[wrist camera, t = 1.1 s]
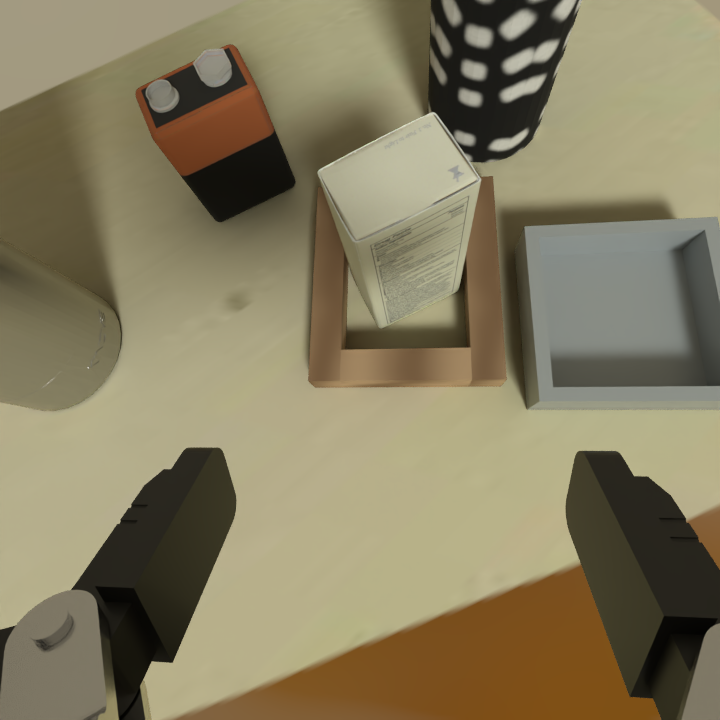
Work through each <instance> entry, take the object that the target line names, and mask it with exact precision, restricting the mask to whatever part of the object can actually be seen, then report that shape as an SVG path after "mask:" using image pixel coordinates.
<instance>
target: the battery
mask: <svg viewBox="0 0 720 720" xmlns="http://www.w3.org/2000/svg"><path fill="white" fill-rule="evenodd" d="M136 98H137V101H138V103H139V106H140V108H141V111H142V113H143V116H144V118H145V121H146V123H147V126H148V128H149V131H150V133H151V136H152V138H153V140H154V141H155V143H156V144H157V145H158V147H159V148H160V149H161V151H162V152H163V153H164V154H165V156H166V157H167V158H168V160H169V161H170V162H171V164H172V165H173V166H174V167H175V169H176V170H177V171H178V173H179V174H180V175H181V177H182V178H183V179H184V180H185V182H186V183H187V184H188V186H189V187H190V188H191V190H192V191H193V192H194V193H195V195H196V196H197V197H198V199H199V200H200V201H201V202H202V204H203V205H204V206H205V208H206V209H207V210H208V212H209V213H210V214H211V215H212V217H213V218H214V219H215V220H216V221H218V222H222V221H224V220H227V219H229V218H231V217H233V216H235V215H237V214H239V213H241V212H243V211H245V210H247V209H249V208H251V207H253V206H256V205H258V204H260V203H262V202H264V201H266V200H268V199H270V198H272V197H274V196H276V195H278V194H280V193H282V192H284V191H286V190H288V189H290V188H292V187H293V186H294V185H295V179H294V176H293V174H292V171H291V169H290V166H289V164H288V161H287V159H286V156H285V154H284V151H283V149H282V146H281V144H280V142H279V139H278V137H277V134H276V132H275V129H274V127H273V124H272V122H271V119H270V117H269V114H268V112H267V109H266V107H265V105H264V102H263V100H262V97H261V95H260V92H259V90H258V88H257V86H256V84H255V82H254V80H253V78H252V76H251V74H250V72H249V70H248V68H247V66H246V64H245V62H244V61H243V59H242V57H241V55H240V53H239V51H238V49H237V48H236V47H235V46H234V45H226V46H224V47H222V48H220V49H208V50H204V51H203V52H202V54H201V55H200V56H199V57H198V58H197V59H196V60H195V61H193V62H191V63H189V64H187V65H185V66H183V67H180V68H178V69H176V70H174V71H172V72H170V73H168V74H166V75H164V76H162V77H160V78H158V79H156V80H154V81H151V82H149V83H147V84H145V85H143V86H141V87H140V88H138V89H137V90H136Z"/></svg>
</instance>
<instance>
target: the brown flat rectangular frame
mask: <svg viewBox="0 0 720 720" xmlns="http://www.w3.org/2000/svg"><path fill="white" fill-rule="evenodd" d="M480 178H481V184H480V188H479V193H478V198H477V203H476V207H475V212H474V218H473V222H472V228H471V233H470V237H469V242H468V247H467V252H466V257H465V262H464V266H463V276H464V298H465V321H466V343H467V348H413V349H354V350H346V330H347V294H348V260H347V257H346V254H345V251H344V248H343V245H342V242H341V239H340V237H339V234H338V231H337V228H336V225H335V222H334V220H333V217H332V214H331V211H330V208H329V205H328V202H327V199H326V196H325V194H324V191H323V188H322V187H318V196H317V216H316V236H315V256H314V277H313V297H312V317H311V337H310V357H309V377H308V381H309V382H310V383H311V384H312V385H313V386H314V387H315V388H316V387H465V386H501V385H502V384H503V383H504V382H505V381H506V379H507V377H506V362H505V348H504V333H503V318H502V303H501V289H500V274H499V259H498V245H497V230H496V215H495V200H494V186H493V176H489V177H480Z"/></svg>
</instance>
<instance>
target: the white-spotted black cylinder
mask: <svg viewBox="0 0 720 720" xmlns="http://www.w3.org/2000/svg"><path fill="white" fill-rule="evenodd" d="M581 1H582V0H431V20H430V55H429V90H428V114H429V113H432V112H434V113H436V114H437V115H438V117H439V118H440V119H441V121H442V122H443V123H444V125H445V126H446V127H447V129H448V130H449V132H450V133H451V134H452V136H453V137H454V139H455V141H456V142H457V143H458V145H459V146H460V148H461V149H462V151H463V152H464V154H465V155H466V157H467V158H468V160H469V161H471V162H492V161H498V160H501V159H505V158H507V157H510V156H512V155H514V154H516V153H517V152H519V151H520V150H522V149H523V148H524V147H526V146H527V144H528V143H529V142H530V141H531V140H532V139H533V137H534V136H535V134H536V132H537V131H538V128H539V125H540V122H541V119H542V116H543V113H544V110H545V107H546V104H547V101H548V98H549V95H550V92H551V89H552V86H553V84H554V81H555V78H556V75H557V72H558V69H559V66H560V63H561V60H562V57H563V54H564V51H565V48H566V45H567V42H568V39H569V37H570V34H571V31H572V28H573V25H574V22H575V19H576V16H577V13H578V10H579V7H580V4H581Z"/></svg>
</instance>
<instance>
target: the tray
mask: <svg viewBox="0 0 720 720" xmlns="http://www.w3.org/2000/svg"><path fill="white" fill-rule="evenodd" d="M515 263H516V275H517V288H518V301H519V313H520V326H521V339H522V352H523V364H524V377H525V390H526V402H527V410H720V228H719V223H718V218H717V217H707V218H686V219H666V220H645V221H625V222H604V223H583V224H563V225H542V226H524V229H523V231H522V233H521V236H520V238H519V241H518V243H517V245H516V248H515Z"/></svg>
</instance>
